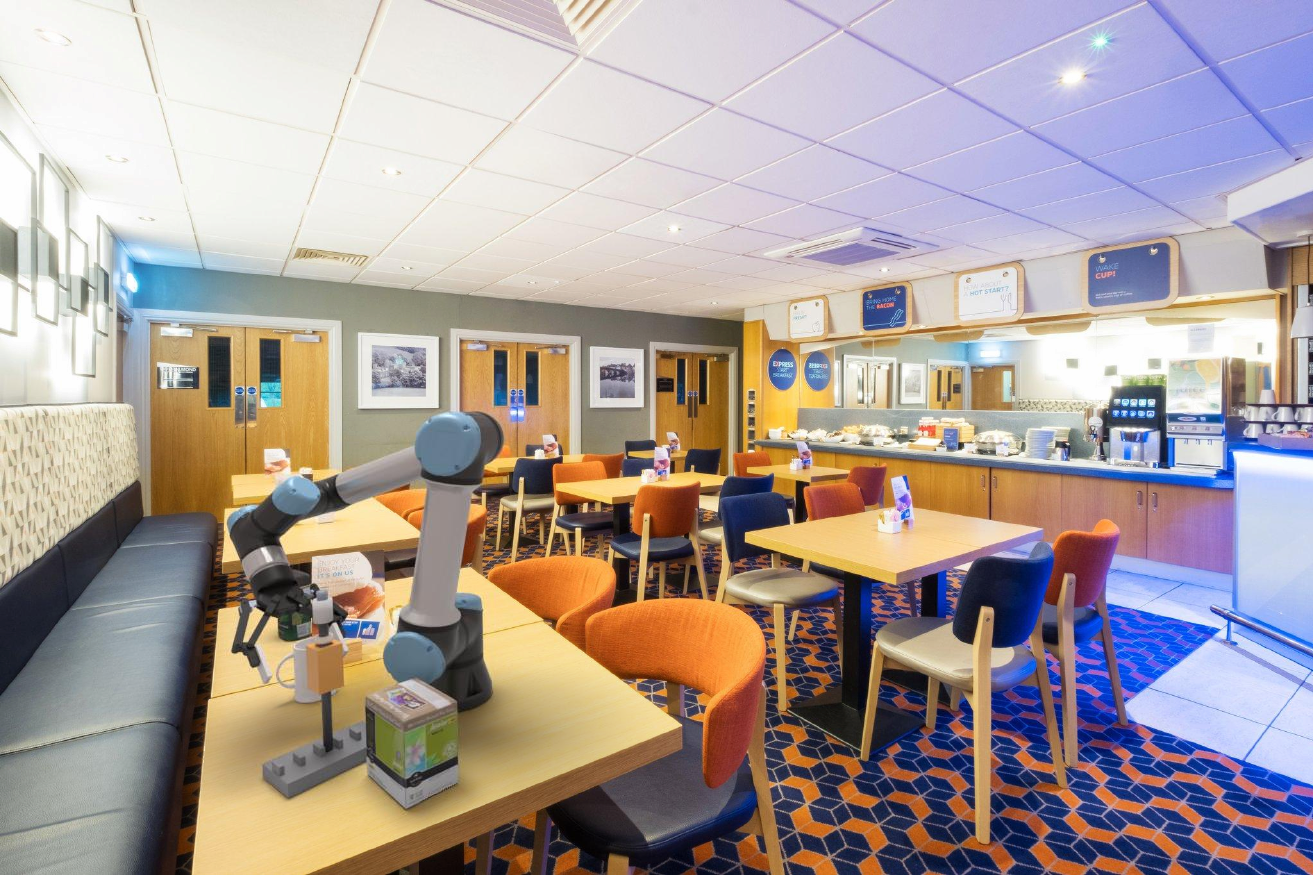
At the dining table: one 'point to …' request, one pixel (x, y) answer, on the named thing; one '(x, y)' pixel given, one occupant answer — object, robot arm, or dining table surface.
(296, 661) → the mug
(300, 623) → the coffee jar
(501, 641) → the dining table surface
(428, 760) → the tea box
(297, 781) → the rod stand with pegs
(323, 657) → the marker sleeve
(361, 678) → the dining table surface
